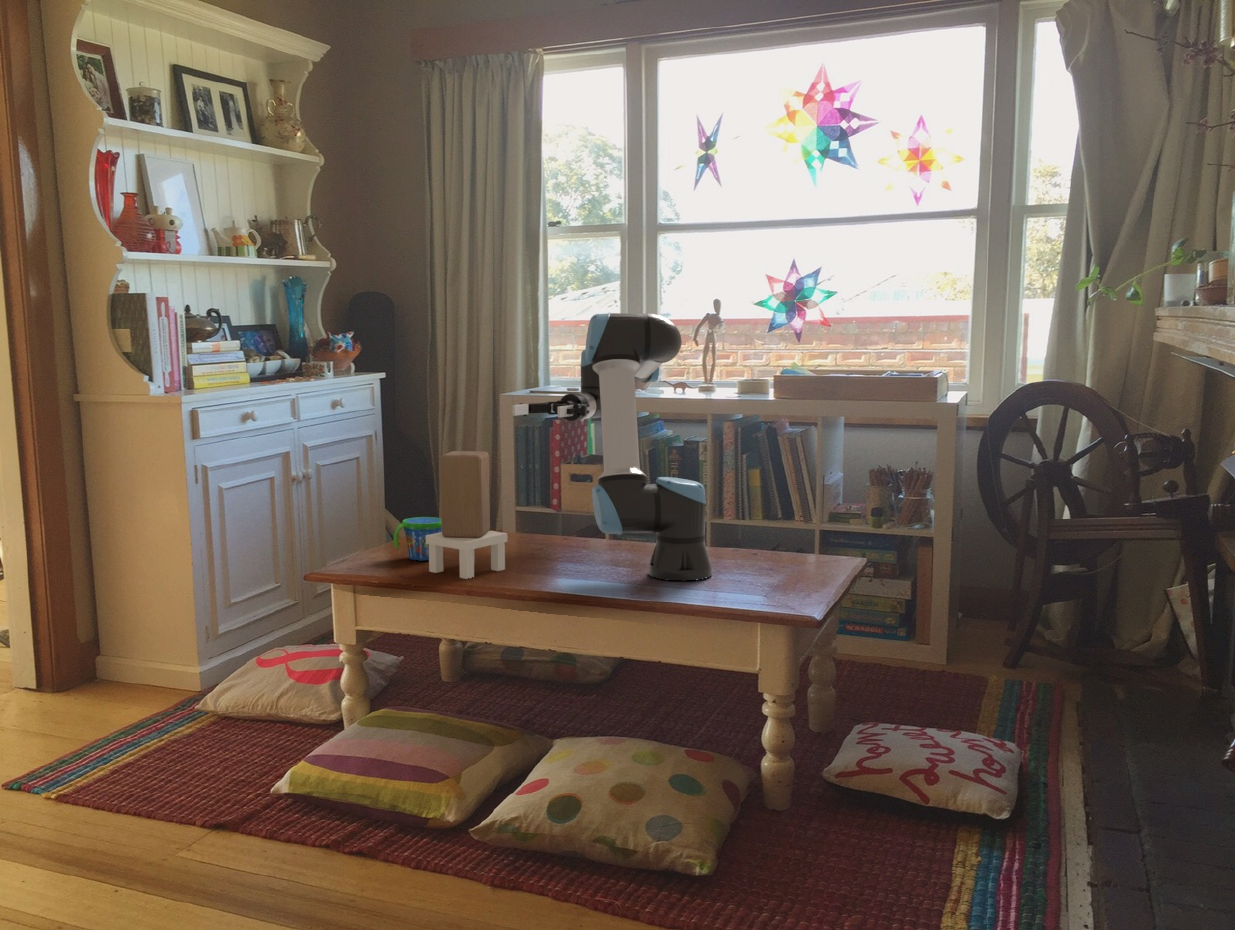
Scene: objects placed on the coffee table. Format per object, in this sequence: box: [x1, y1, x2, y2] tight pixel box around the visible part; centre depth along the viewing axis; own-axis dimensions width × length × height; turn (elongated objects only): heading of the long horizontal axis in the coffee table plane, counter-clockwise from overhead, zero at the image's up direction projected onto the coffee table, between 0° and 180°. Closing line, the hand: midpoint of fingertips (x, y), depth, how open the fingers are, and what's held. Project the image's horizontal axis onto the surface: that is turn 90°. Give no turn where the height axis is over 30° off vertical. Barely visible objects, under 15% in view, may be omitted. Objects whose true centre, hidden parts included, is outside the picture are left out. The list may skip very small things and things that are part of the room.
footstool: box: [426, 530, 509, 580], centre depth 251 cm, size 14×14×9 cm
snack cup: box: [392, 516, 442, 562], centre depth 264 cm, size 16×10×10 cm
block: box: [439, 450, 491, 538], centre depth 249 cm, size 10×10×20 cm
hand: (535, 411), depth 263 cm, fingers open, 13 cm apart
